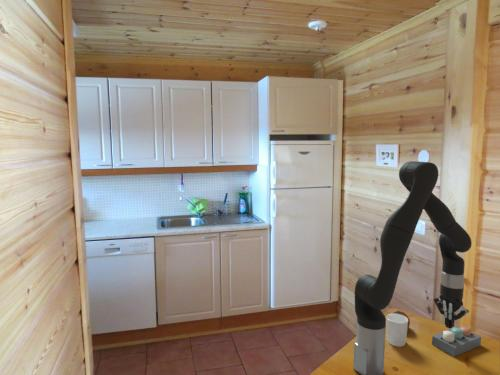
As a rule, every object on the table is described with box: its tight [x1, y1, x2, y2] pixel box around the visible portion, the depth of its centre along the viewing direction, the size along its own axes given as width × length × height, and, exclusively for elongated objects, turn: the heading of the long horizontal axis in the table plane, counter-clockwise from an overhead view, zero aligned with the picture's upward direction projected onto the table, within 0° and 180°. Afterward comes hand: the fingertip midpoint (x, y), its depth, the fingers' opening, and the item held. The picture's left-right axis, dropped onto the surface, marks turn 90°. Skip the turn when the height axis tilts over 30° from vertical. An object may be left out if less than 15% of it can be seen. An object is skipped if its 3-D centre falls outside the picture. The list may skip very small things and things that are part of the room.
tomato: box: [393, 310, 411, 328], centre depth 149 cm, size 8×8×7 cm
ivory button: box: [442, 330, 455, 344], centre depth 134 cm, size 4×4×4 cm
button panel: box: [431, 325, 482, 357], centre depth 137 cm, size 16×9×4 cm, turn 116°
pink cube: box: [460, 326, 472, 337], centre depth 139 cm, size 4×4×4 cm
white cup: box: [385, 312, 409, 347], centre depth 139 cm, size 8×8×10 cm
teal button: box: [451, 326, 463, 341], centre depth 136 cm, size 4×4×4 cm
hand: (449, 327), depth 134 cm, fingers closed
